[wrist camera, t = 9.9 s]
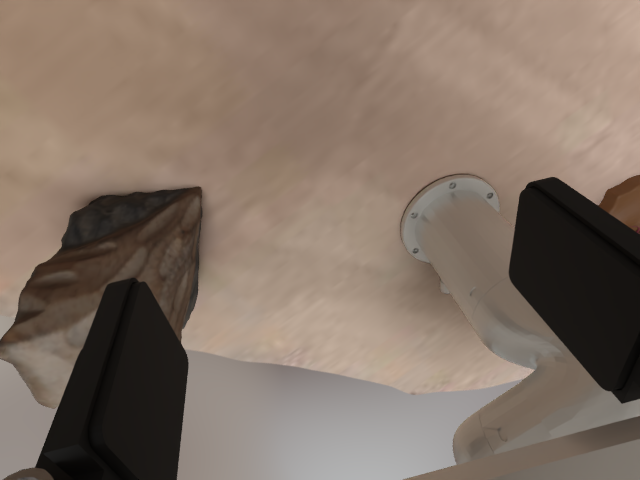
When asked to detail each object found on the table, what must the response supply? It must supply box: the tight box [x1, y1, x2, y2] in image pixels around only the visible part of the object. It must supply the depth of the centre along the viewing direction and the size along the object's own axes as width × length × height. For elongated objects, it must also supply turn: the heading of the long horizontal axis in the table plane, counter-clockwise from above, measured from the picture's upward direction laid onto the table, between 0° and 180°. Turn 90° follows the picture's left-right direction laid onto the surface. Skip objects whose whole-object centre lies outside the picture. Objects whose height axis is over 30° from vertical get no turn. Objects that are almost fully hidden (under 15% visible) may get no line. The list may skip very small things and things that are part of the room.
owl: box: [0, 187, 202, 409], centre depth 36 cm, size 13×13×20 cm
